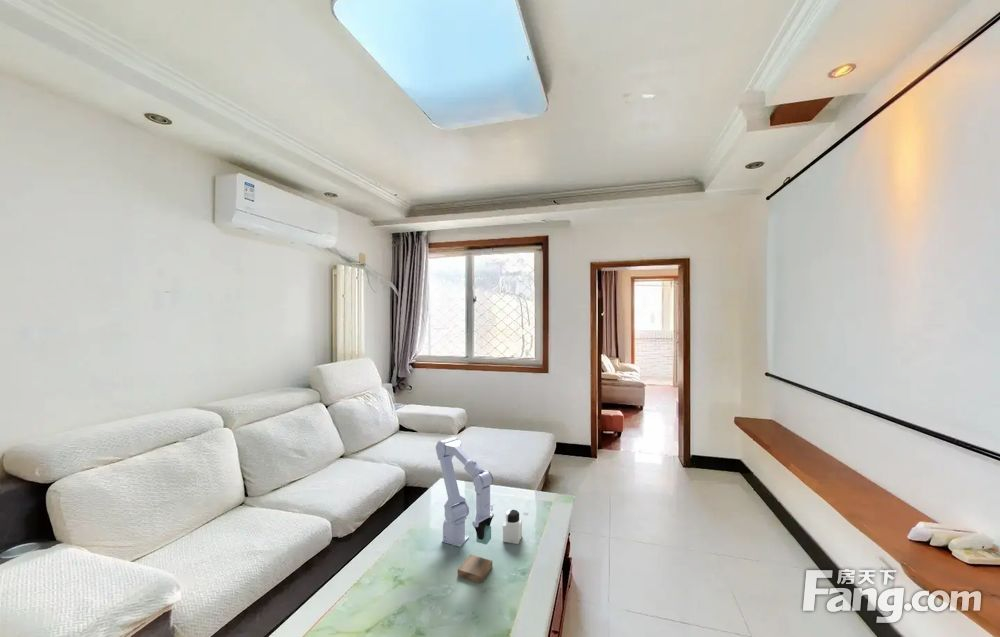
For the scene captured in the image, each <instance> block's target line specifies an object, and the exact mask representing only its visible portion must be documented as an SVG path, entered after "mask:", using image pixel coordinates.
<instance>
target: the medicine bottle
mask: <svg viewBox="0 0 1000 637" xmlns="http://www.w3.org/2000/svg"><path fill="white" fill-rule="evenodd" d="M522 536H523V520H522V519H520V512H519V511H518V510H516V509H508V510H506V512H505V521H504V522H503V525H502V542H503V543H509V544H516V545H519V544H520V542H521V538H522Z"/></svg>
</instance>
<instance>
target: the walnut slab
mask: <svg viewBox="0 0 1000 637" xmlns="http://www.w3.org/2000/svg"><path fill="white" fill-rule="evenodd" d="M492 569H493V560H491V559H487V558H484V557H481V556H476V555H473V554H468V556H467V558H466V559H465V560H464V561H463V562H462V564H460V566H459V567H458V568H457V577H459V578H463V579H465V580H469V581H473V582H476V583H479V584H482V583H483V582H484V580H485V579H486V577H487V576H488V574H489V573H490V571H491V570H492Z"/></svg>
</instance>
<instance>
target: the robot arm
mask: <svg viewBox="0 0 1000 637" xmlns="http://www.w3.org/2000/svg"><path fill="white" fill-rule="evenodd" d="M435 452H436V455H437V460H438V461H439V463H440V468H441V472H442V478H443V481H444V486H445V490H446V495H447V500H446V502H445V504H444V506H443V507H444V518H445V519H444V520H443V524H442V540H441V542H442V543H445V544H449V545H452V546H456V547H459V548H460V547H462V546H463V544H464V543H465V542H466V541H467V540H468V539H469V538H470V536H469V535H466V520H467V517H468V516H469V515H470V507H469V505H468V502H467V500H466V498H465V497H464V496H462V495H460V491H459V490H460V489H459V487H458V481H457V479H456V474H455V469H454V464H453V461H452V460H453V457H454V456H455V457H456V459H458V461H460V463H462V464H463V465H464V471H465V472H466V474H468V476H470V478H471V480H472V483H473V486H474V491H475V494H476V495H475V498H476V499H475V505H476V506H475V508H476V509H475V510H476V512H475V514H474V515H475V516H474V520H473V521H472V526H473V528H474V529H475V532H476V533H477V537H478V539H481V540H483V538H484V531H485V527H486V525H487V526H491V523H492V520H493V518H494V516H495V515H494V513H492V511H494V507H493V504H492V505H491V485H492V484H493V483H494V477H493V474H492V473H491V471H489V470H487V469H483V467H482V466H481V465H480V464H479V463H478V462H477V461H476V459H471V458H470V456H469V455H468V454H467V453H466V450H464V448H463V447H462V441H461V440H460V439H459V438H458V437H457V436H453V437H450V438H446V439H443V440H438V441H437V442H436V445H435Z"/></svg>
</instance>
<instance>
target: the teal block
mask: <svg viewBox="0 0 1000 637" xmlns="http://www.w3.org/2000/svg"><path fill="white" fill-rule="evenodd" d="M475 536H476V543H477V544H478V543H479V544H483V545H488V543H489V542H490V541H491V540H492V526H491V525H490V526H487V525H486V527H485V531H484V538H483V540H481V539H478V537H477V533H476V535H475Z"/></svg>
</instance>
